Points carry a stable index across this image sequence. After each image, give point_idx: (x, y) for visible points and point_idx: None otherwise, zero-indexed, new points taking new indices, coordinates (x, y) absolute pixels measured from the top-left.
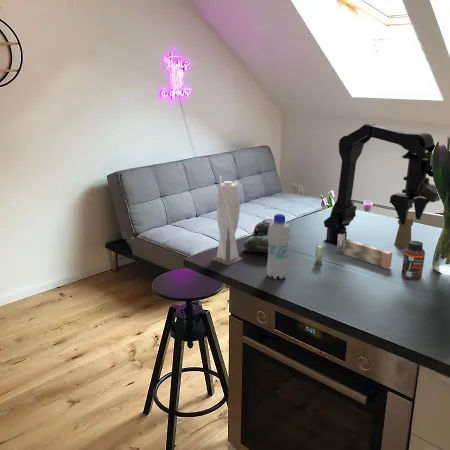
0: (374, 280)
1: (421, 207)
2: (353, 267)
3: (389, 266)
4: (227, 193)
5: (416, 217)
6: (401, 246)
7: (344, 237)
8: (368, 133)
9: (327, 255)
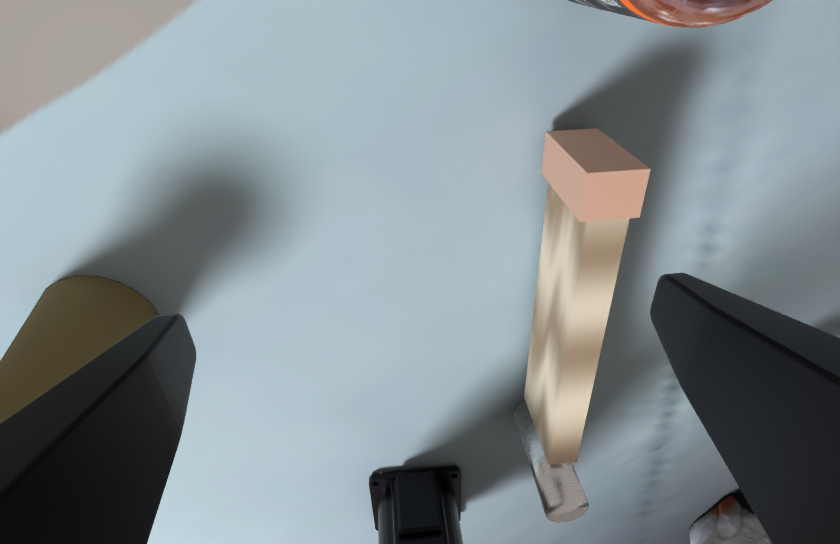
0: (817, 63)
1: (32, 536)
2: (678, 264)
3: (564, 132)
4: None
5: (190, 373)
6: (143, 311)
7: (561, 481)
8: None
9: (602, 417)
